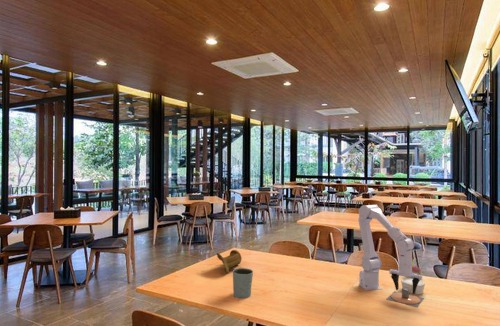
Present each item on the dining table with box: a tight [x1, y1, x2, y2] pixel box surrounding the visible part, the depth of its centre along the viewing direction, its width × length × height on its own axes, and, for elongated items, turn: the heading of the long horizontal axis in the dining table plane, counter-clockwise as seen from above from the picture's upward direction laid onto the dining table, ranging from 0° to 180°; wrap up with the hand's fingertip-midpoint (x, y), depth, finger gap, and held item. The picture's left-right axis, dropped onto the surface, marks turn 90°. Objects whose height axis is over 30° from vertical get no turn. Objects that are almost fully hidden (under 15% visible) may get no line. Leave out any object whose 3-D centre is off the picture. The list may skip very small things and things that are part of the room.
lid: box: [390, 287, 420, 305], centre depth 160 cm, size 13×13×5 cm
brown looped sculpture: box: [216, 249, 243, 274], centre depth 205 cm, size 18×13×22 cm
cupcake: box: [408, 258, 422, 279], centre depth 193 cm, size 9×8×12 cm
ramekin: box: [400, 277, 426, 295], centre depth 171 cm, size 11×11×5 cm
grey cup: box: [232, 267, 254, 299], centre depth 163 cm, size 10×10×12 cm
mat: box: [386, 290, 425, 308], centre depth 160 cm, size 14×14×1 cm
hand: (405, 291), depth 160 cm, fingers open, 7 cm apart
